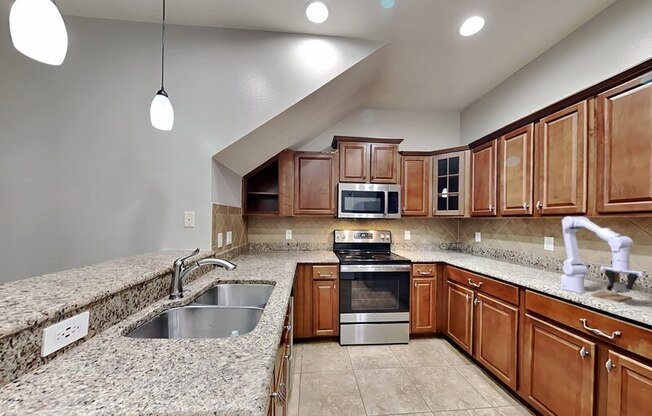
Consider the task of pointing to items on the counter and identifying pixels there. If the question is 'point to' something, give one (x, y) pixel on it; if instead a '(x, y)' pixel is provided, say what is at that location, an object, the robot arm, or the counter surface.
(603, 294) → the post board
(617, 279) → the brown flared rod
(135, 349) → the counter surface
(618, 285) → the hub ring
